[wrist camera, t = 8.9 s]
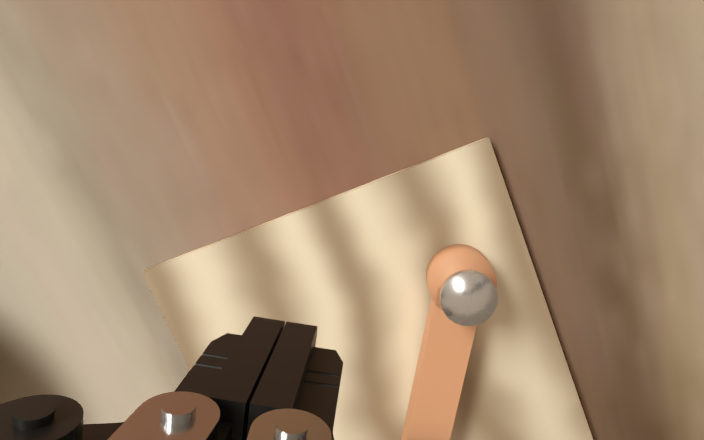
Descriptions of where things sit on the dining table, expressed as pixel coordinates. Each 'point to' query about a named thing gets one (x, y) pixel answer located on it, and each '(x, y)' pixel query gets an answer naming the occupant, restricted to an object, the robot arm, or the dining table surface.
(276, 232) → the board
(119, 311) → the dining table surface
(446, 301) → the silver metal ball
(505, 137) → the dining table surface
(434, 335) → the link
